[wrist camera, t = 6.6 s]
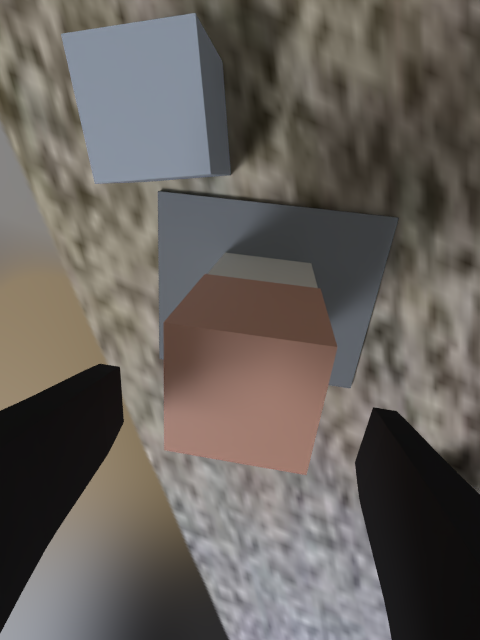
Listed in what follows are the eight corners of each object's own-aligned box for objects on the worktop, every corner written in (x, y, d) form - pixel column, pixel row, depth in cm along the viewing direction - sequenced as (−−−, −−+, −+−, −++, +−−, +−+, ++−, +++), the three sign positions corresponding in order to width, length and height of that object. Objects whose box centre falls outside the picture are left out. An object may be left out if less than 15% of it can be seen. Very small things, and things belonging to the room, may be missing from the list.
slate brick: (222, 62, 15) (195, 13, 10) (231, 175, 16) (210, 174, 12) (125, 74, 15) (61, 33, 11) (144, 182, 17) (94, 183, 13)
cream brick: (311, 263, 17) (319, 292, 13) (296, 340, 19) (299, 389, 15) (225, 252, 18) (204, 277, 13) (219, 329, 19) (199, 373, 15)
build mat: (396, 217, 16) (398, 218, 16) (349, 385, 20) (350, 388, 20) (160, 191, 17) (157, 191, 17) (161, 356, 21) (159, 358, 21)
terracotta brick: (320, 288, 13) (337, 346, 8) (300, 385, 15) (306, 475, 10) (204, 273, 13) (163, 322, 9) (200, 370, 15) (164, 450, 11)
